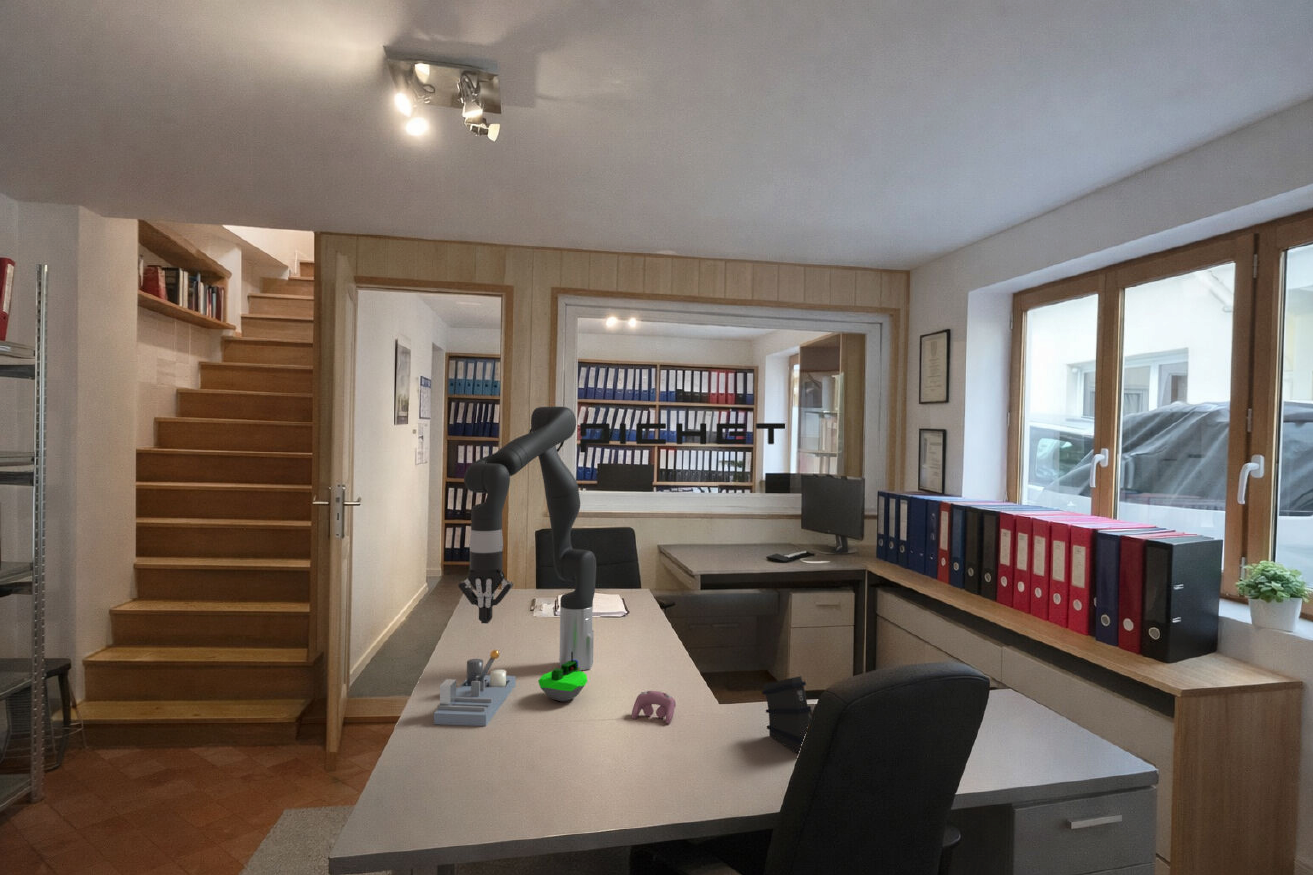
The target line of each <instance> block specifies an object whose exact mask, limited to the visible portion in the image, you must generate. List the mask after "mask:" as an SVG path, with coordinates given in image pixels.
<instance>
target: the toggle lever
mask: <svg viewBox="0 0 1313 875" xmlns="http://www.w3.org/2000/svg"><path fill="white" fill-rule="evenodd" d="M499 657H500V651H499V650H497V649H493V650H492V651H491V652H490V657H489V659H488V660H487V663H486V664H485V666H483V671H482V672H481V674H480V676H479V677H478V679H477V680H476V681H480V685H481V684H482V682H483V678H484V677H485V675H487V673H488V672H489V670H490V669H491V666H492V665H493V663H494V662H495V660H497V659H498V658H499Z"/></svg>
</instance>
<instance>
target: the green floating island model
mask: <svg viewBox="0 0 1313 875" xmlns="http://www.w3.org/2000/svg"><path fill="white" fill-rule="evenodd" d="M537 682H538V684H539V687H540V689H541V690H542V691H543V692H544V694H546V696H547V698H549V699H550V700H551V699H552V700H556V701H559V702H562V703H565V702H567V701H570V700H573V699H574V698H576V697H577V696H578V695H579V694H580V693H581V691H582V689H583V688H584V687H585V686H586V684H587V683H588V676H587V674H586V673H585V672H583V670H580V667H578V661H577V660H573V652H571V661H568V662H566V663H564V664H562V665H561V668H553V669H552V671H549V672H546V673H544V674H542V675H541V676H540V677H539V679H538V681H537Z"/></svg>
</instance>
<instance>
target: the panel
mask: <svg viewBox="0 0 1313 875" xmlns="http://www.w3.org/2000/svg"><path fill="white" fill-rule="evenodd" d="M478 677H479V676H476V680H477V679H478ZM516 679H517V678H516V675H506V687H490V674H486V675H485V677H484V678H483V682H482V684H481V685H480V681H471V684H468V683H467V678H466V679H465V680H463V682H462V683H460V685H459V686H458V687H456V701H455V702H454V703H453V705H452V706H449V705H440V704H439V705H437V709H436V711H434V713H433V725H442V726H443V725H444V726H445V725H449V726H468V725H469V727H470V726H471V727H472V726H473V727H487V725H488V724H489V722H490V721H491V720H492V718H494V715H495V714H496V713H497V711H499V709H500V707H501V706H502V705H503V704H504V702H505V701H506V699H507V698H508V696H509V695H510V694H511V692H512V691H513V690H512V689H514V688H516V681H517V680H516Z"/></svg>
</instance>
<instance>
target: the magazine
mask: <svg viewBox="0 0 1313 875" xmlns="http://www.w3.org/2000/svg"><path fill="white" fill-rule="evenodd" d="M806 685H807V684H806V681H803V679H802V676H795V677H790V678H789V677H788V678H786V679H782V680H779V681H775V682H770V683H767V684H766V683H765V684H763V689H764V690H762V691H761V694H762V696H763V695H765V699H766V703H767V709H766V710H765V713H766V714H768V721H769V724H768V725H767V726H766V729H767V730H768V731H769V737H771V738H772V739H774V740H775V741H777V742H779V743H780V744H782V745H783V746H785V747H787V748H788V749H790V750H791V751H793V752H795V753H796V754H798V753H799V751H800V748H801V744H802V742H803V739H804V736H805V734H806V732H807V727H808V724H809V721H811V720H810V714H809V712H812V709H811V705H808V700H807V694H806V691H805V686H806Z"/></svg>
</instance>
